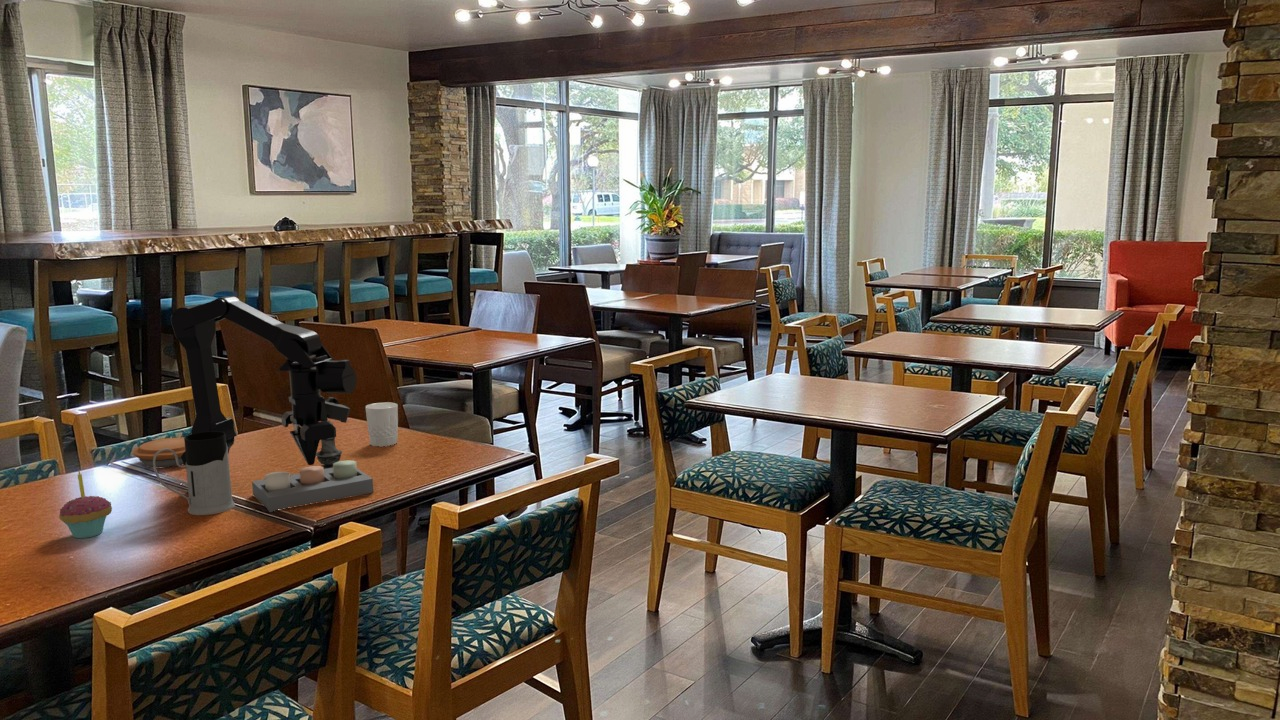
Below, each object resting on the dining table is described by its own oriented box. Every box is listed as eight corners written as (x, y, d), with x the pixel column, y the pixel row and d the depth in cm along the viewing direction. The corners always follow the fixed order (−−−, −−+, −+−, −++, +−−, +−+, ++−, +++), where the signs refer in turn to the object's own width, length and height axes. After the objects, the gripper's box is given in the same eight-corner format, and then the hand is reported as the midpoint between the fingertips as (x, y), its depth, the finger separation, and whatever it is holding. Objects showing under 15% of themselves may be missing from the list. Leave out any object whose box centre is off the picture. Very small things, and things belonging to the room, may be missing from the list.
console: (270, 512, 184) (268, 497, 183) (253, 495, 195) (251, 481, 194) (373, 492, 196) (372, 478, 195) (351, 477, 207) (351, 464, 206)
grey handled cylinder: (241, 508, 186) (235, 435, 184) (165, 524, 177) (157, 448, 175) (226, 498, 193) (220, 428, 190) (152, 513, 184) (144, 440, 181)
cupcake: (56, 534, 173) (49, 472, 171) (107, 523, 179) (100, 462, 177) (69, 545, 167) (61, 481, 165) (120, 533, 173) (113, 471, 171)
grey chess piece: (347, 464, 217) (343, 414, 215) (336, 471, 212) (333, 420, 210) (323, 464, 218) (319, 414, 216) (312, 471, 212) (308, 420, 210)
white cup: (406, 442, 238) (404, 404, 236) (382, 449, 231) (380, 410, 229) (384, 438, 242) (382, 401, 240) (361, 445, 235) (358, 406, 233)
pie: (191, 450, 233) (189, 430, 232) (216, 461, 223) (214, 441, 222) (124, 462, 222) (122, 442, 222) (147, 474, 212) (145, 453, 211)
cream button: (269, 495, 188) (267, 479, 187) (263, 490, 191) (261, 474, 191) (293, 491, 190) (292, 475, 190) (287, 486, 194) (285, 470, 194)
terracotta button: (304, 489, 192) (303, 473, 191) (297, 484, 195) (296, 468, 195) (327, 485, 194) (326, 469, 194) (320, 480, 198) (319, 464, 198)
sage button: (338, 483, 196) (337, 467, 195) (331, 478, 199) (330, 462, 199) (360, 479, 198) (359, 463, 198) (353, 474, 202) (352, 459, 202)
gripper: (358, 394, 189) (363, 467, 191) (330, 380, 204) (335, 449, 206) (303, 401, 182) (308, 477, 185) (278, 386, 197) (283, 457, 200)
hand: (310, 464), depth 194 cm, fingers closed
